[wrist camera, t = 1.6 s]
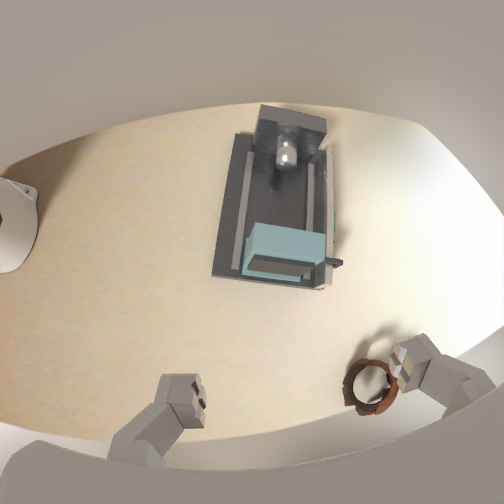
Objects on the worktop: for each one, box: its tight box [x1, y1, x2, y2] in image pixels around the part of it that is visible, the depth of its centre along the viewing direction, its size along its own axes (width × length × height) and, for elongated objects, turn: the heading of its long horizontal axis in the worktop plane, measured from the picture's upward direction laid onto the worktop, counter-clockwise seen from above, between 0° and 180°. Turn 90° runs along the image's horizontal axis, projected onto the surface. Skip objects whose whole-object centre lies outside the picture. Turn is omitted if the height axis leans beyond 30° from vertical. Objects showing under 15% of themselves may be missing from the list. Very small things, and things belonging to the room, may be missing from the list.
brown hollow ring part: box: [342, 358, 399, 416], centre depth 35 cm, size 12×10×8 cm
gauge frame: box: [212, 104, 335, 290], centre depth 38 cm, size 24×16×10 cm, turn 174°
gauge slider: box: [242, 222, 343, 282], centre depth 34 cm, size 5×13×9 cm, turn 83°
